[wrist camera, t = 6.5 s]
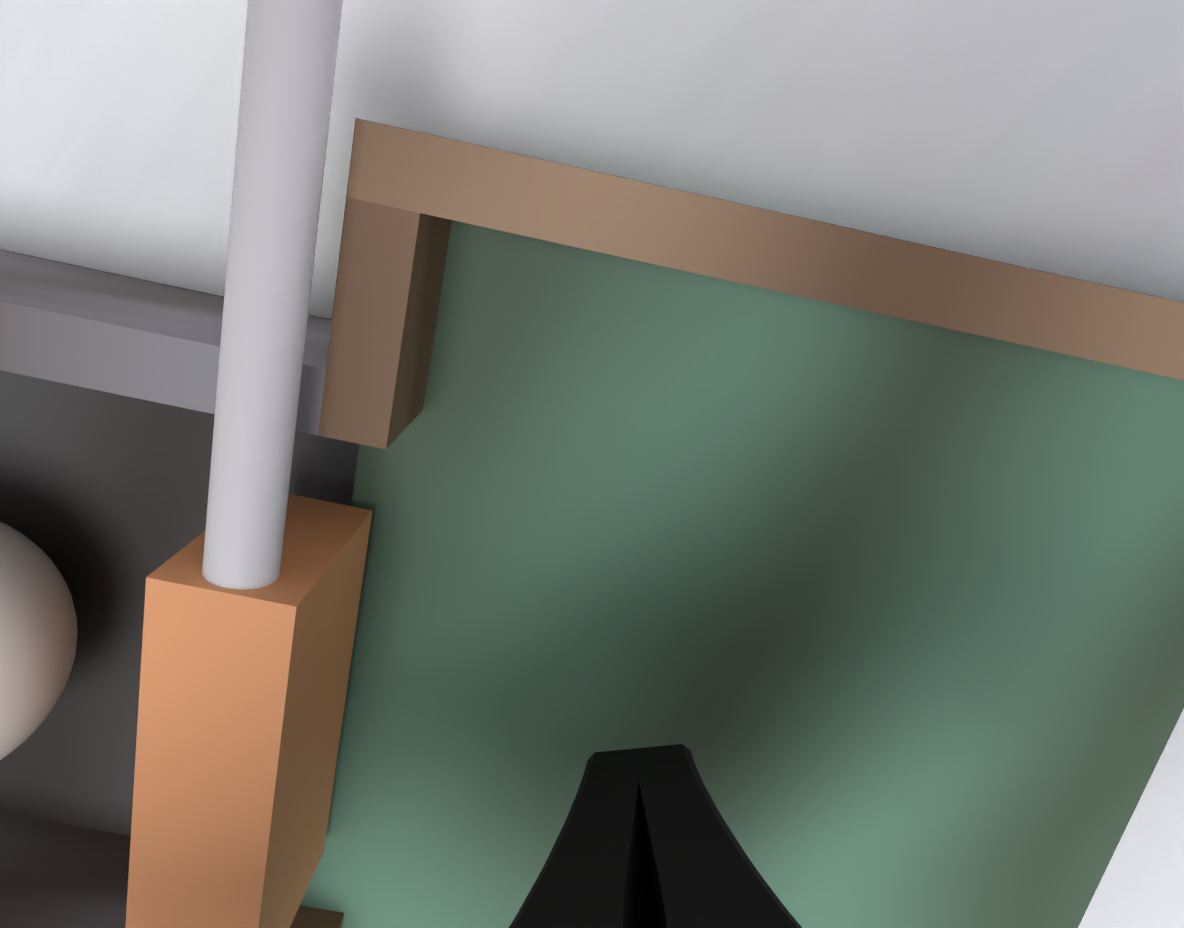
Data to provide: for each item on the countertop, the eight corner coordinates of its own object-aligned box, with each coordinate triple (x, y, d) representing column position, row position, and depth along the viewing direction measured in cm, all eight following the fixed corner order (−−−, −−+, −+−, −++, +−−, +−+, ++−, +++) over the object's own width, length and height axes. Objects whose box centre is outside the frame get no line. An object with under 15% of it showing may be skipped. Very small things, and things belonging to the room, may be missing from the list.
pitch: (1297, 338, 12) (1514, 376, 9) (939, 1117, 17) (1009, 1305, 14) (-246, -7, 11) (-542, -83, 8) (-176, 922, 16) (-352, 1082, 13)
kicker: (445, 54, 10) (368, -23, 7) (280, 1190, 16) (195, 1445, 12) (297, 21, 10) (147, -73, 7) (186, 1174, 16) (75, 1426, 12)
